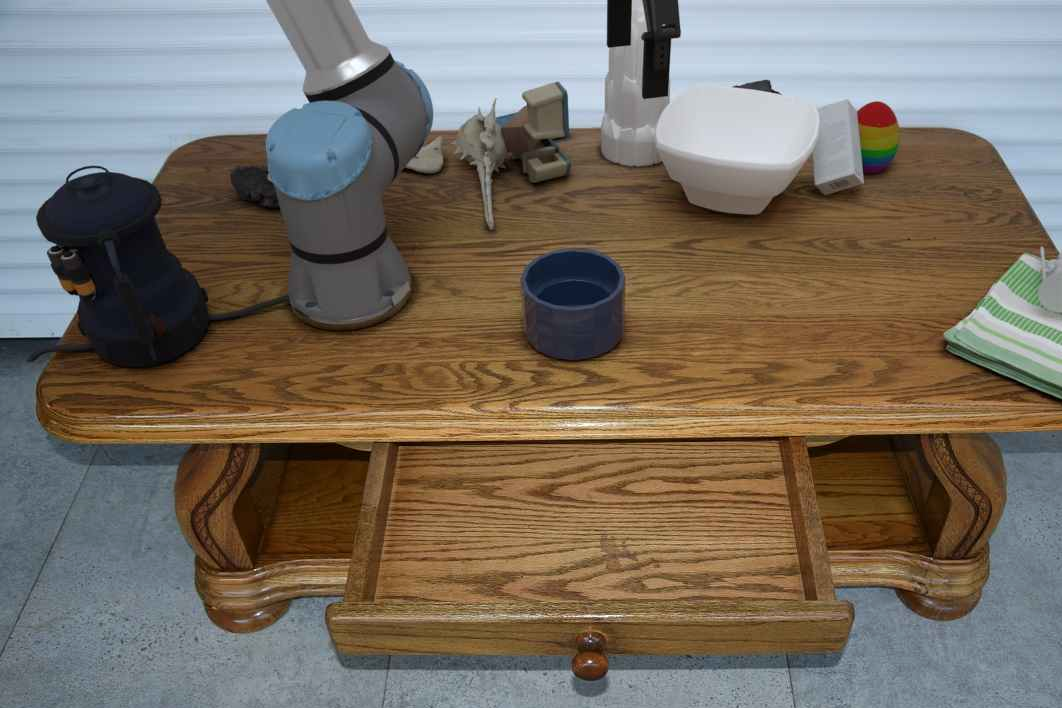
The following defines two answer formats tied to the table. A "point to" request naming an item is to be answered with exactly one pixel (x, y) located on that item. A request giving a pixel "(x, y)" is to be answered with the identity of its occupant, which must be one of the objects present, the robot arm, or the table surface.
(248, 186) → the rock
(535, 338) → the glazed bowl
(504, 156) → the seashell
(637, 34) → the decorative vase
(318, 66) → the robot arm
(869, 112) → the decorative egg
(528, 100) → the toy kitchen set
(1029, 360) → the dish towel
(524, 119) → the wooden block
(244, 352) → the table surface
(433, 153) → the fossil
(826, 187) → the cosmetic box
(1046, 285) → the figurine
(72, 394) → the table surface
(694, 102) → the bowl
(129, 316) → the dark blue bag
